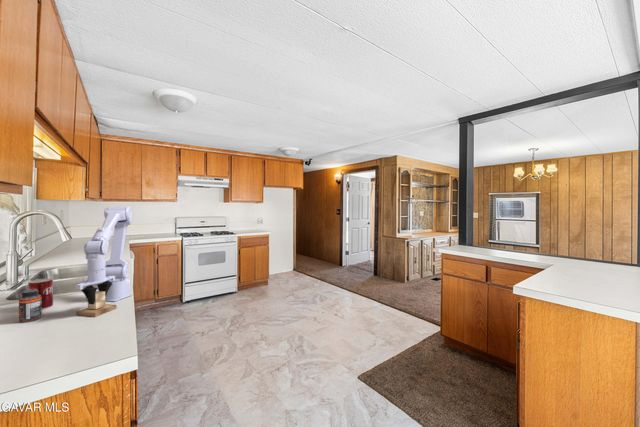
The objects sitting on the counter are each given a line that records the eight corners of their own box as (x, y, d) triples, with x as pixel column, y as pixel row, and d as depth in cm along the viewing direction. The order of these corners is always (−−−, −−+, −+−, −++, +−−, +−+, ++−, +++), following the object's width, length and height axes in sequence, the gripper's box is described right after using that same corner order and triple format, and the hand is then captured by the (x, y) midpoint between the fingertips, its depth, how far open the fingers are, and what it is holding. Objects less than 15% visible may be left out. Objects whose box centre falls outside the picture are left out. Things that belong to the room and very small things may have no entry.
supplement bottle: (16, 320, 101) (16, 291, 101) (38, 315, 106) (38, 287, 106) (22, 324, 98) (21, 293, 98) (44, 318, 103) (44, 289, 103)
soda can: (53, 303, 119) (52, 277, 119) (53, 308, 114) (52, 280, 113) (29, 308, 114) (28, 280, 114) (27, 312, 109) (27, 283, 108)
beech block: (97, 305, 112) (97, 291, 112) (105, 305, 112) (105, 291, 112) (87, 308, 108) (87, 294, 108) (95, 309, 108) (95, 294, 108)
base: (98, 307, 115) (98, 303, 115) (116, 308, 114) (116, 304, 114) (76, 315, 106) (76, 311, 106) (95, 316, 105) (95, 312, 105)
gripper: (105, 265, 117) (105, 295, 118) (69, 273, 103) (69, 307, 103) (119, 266, 116) (119, 296, 117) (84, 274, 102) (84, 308, 102)
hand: (97, 301), depth 110 cm, fingers closed on beech block, 4 cm apart
